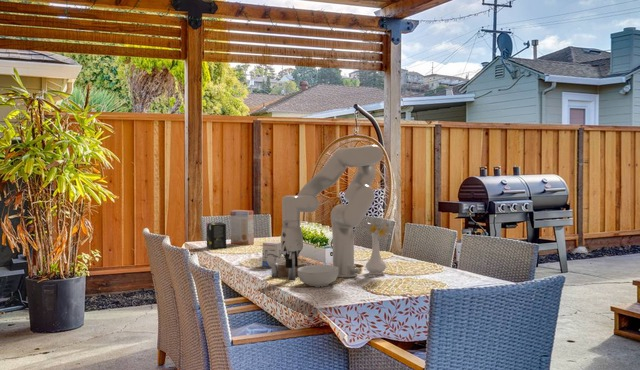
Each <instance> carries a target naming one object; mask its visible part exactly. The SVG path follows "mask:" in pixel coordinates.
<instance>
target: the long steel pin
mask: <svg viewBox="0 0 640 370" xmlns="http://www.w3.org/2000/svg"><path fill="white" fill-rule="evenodd" d="M288 254H289V253H288ZM291 259H292V268H288V277H287V278H288V279H287V280H288V281H289V280H294V281H296V277H295V251H294V252H291Z"/></svg>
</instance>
